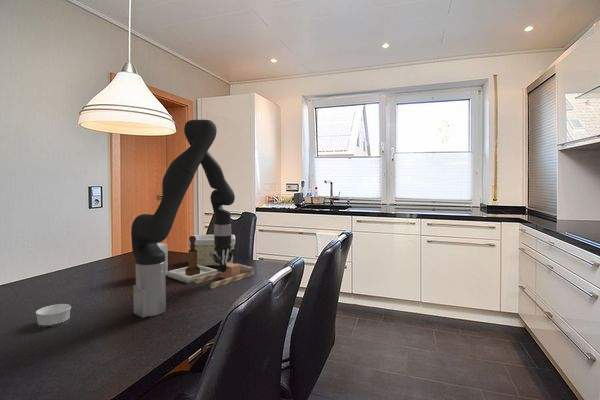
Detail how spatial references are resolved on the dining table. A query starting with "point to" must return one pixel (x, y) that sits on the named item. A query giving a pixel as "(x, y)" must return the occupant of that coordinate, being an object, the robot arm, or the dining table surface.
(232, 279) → the rail
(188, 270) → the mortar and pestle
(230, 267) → the orange brown block
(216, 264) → the storage basket
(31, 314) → the dining table surface
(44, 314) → the ramekin
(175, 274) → the tray
